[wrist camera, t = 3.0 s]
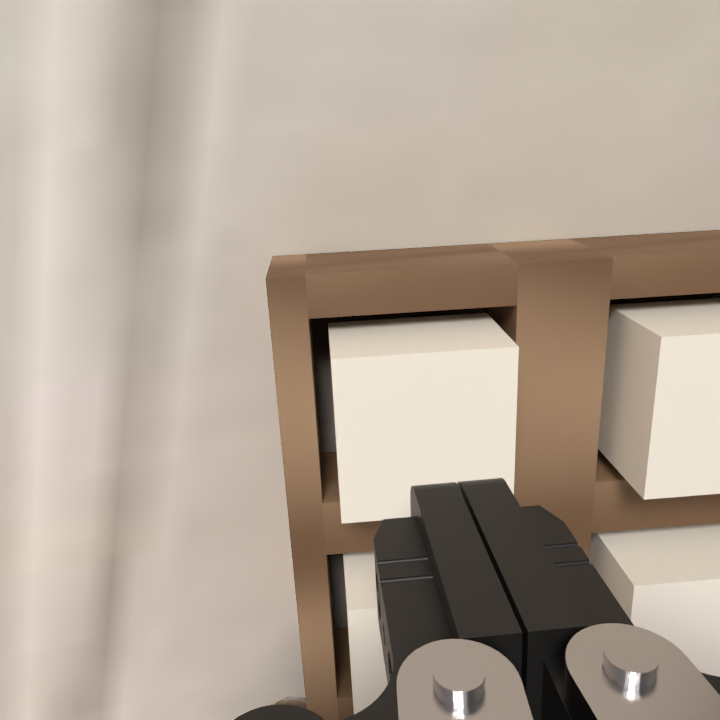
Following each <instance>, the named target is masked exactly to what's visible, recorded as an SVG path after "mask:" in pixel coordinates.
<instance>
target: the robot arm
mask: <svg viewBox="0 0 720 720" xmlns="http://www.w3.org/2000/svg"><path fill="white" fill-rule="evenodd" d="M410 506H411V517H403V518H392V519H383V521H382V523H381V525H380V527H379V529H378V531H377V533H376V535H375V537H374V539H373V540H374V558H375V575H376V593H377V610H378V622H379V629H380V636H381V643H382V649H383V656H384V663H385V669H386V677H387V683H388V685H387V686H386V688H385V690H384V691H383V692H382V694H381V695H380V696H379V697H378V698H377V699H376V700H375V701H374V702H373V703H372V704H371V705H369V706H368V707H366V708H365V709H363V710H362V711H360V712H358V713H356V714H354V715H352V716H350V717H348V718H345V719H343V720H720V677H718V676H713V675H708V674H705V673H702V672H700V671H699V670H698V669H697V668H696V667H695V665H694V664H693V663H692V662H691V661H690V660H689V658H688V657H687V656H686V655H685V654H684V653H683V652H682V651H681V650H680V649H679V648H678V647H676V646H675V645H674V644H673V643H671V642H670V641H668V640H667V639H665V638H663V637H662V636H660V635H658V634H656V633H654V632H651V631H649V630H646V629H643V628H640V627H636V626H634V625H633V623H632V622H631V620H630V619H629V617H628V616H627V614H626V613H625V611H624V610H623V608H622V607H621V605H620V604H619V603H618V601H617V600H616V598H615V597H614V595H613V594H612V592H611V591H610V589H609V588H608V586H607V585H606V583H605V582H604V580H603V579H602V577H601V576H600V574H599V573H598V571H597V570H596V569H595V567H594V566H593V564H590V562H589V558H588V557H587V555H586V554H585V552H584V551H583V549H582V548H581V546H578V542H577V540H576V539H575V537H574V536H573V535H572V533H571V532H570V530H569V529H568V527H567V526H566V524H565V523H564V521H562V520H561V519H559V518H558V517H556V516H555V515H553V514H552V513H550V512H549V511H547V510H546V509H544V508H543V507H541V506H540V505H536V506H524V507H520V505H519V503H518V502H517V500H516V498H515V497H514V495H513V493H512V491H511V490H510V488H509V486H508V485H507V483H506V481H505V480H504V479H503V478H494V479H483V480H471V481H460V482H458V483H456V482H450V483H438V484H427V485H415V486H411V490H410ZM234 720H324V719H323V718H322V717H321V716H319V715H318V714H316V713H315V712H313V711H310V710H308V709H306V708H303V707H299V706H295V705H284V704H281V705H270V706H265V707H260V708H257V709H254V710H251V711H249V712H247V713H245V714H243V715H241V716H239V717H237V718H236V719H234Z"/></svg>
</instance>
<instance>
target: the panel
mask: <svg viewBox="0 0 720 720" xmlns="http://www.w3.org/2000/svg"><path fill="white" fill-rule="evenodd" d="M266 287H267V297H268V308H269V318H270V329H271V339H272V349H273V360H274V370H275V381H276V391H277V402H278V412H279V423H280V433H281V444H282V454H283V464H284V475H285V485H286V496H287V506H288V517H289V527H290V538H291V548H292V558H293V569H294V579H295V590H296V600H297V611H298V621H299V632H300V642H301V652H302V663H303V673H304V684H305V694H306V705H307V709H308V710H310V711H313V712H315V713H316V714H318V715H319V716H321V717H322V718H323V719H324V720H343V719H345V718H348V717H350V716H352V715H354V709H353V695H352V682H351V668H350V653H349V638H348V629H336V630H334V622H333V609H332V595H331V582H330V568H329V555H331V554H343V553H355V552H367V551H374V540H373V539H374V537H375V535H376V533H377V531H378V529H379V527H380V525H381V523H382V521H383V520H381V521H368V522H356V523H343V524H342V523H341V510H340V496H339V483H338V470H337V455H336V452H331V453H321V447H320V433H319V420H318V406H317V393H316V379H315V366H314V352H313V339H312V325H311V319H313V318H329V317H345V316H360V315H376V314H392V313H408V312H423V311H439V310H455V309H470V308H486V307H487V314H488V315H489V316H490V317H491V318H492V319H493V320H494V321H495V322H496V323H497V324H498V325H499V326H500V327H501V329H502V330H503V331H504V332H505V333H506V334H507V335H508V336H509V337H510V338H511V339H512V340H513V341H514V342H515V343H516V344H517V345H518V346H519V358H518V387H517V416H516V445H515V474H514V497H515V498H516V500H517V502H518V503H519V505H520V507H524V506H536V505H540V506H541V507H543V508H544V509H546V510H547V511H549V512H550V513H552V514H553V515H555V516H556V517H558V518H559V519H561V520H562V521H564V523H565V524H566V526H567V527H568V529H569V530H570V532H571V533H572V535H573V536H574V537H575V539H576V540H577V542H578V546H581V548H582V549H583V551H584V552H585V554H586V555H587V557H588V558H589V553H590V541H591V533H601V532H613V531H625V530H637V529H650V528H662V527H674V526H686V525H699V524H711V523H720V494H709V495H696V496H684V497H671V498H659V499H646V500H644V499H643V498H642V497H641V496H640V495H639V494H638V493H637V492H636V490H635V489H634V488H633V487H632V486H631V485H630V484H629V483H628V482H627V480H626V479H625V478H624V477H623V476H622V475H621V474H620V473H619V472H618V470H617V469H616V468H615V467H614V466H613V465H612V464H611V463H610V462H609V460H608V459H607V458H606V457H605V456H604V455H603V454H602V453H601V451H600V450H599V449H598V442H599V429H600V417H601V404H602V392H603V379H604V367H605V355H606V342H607V330H608V317H609V305H610V300H611V299H627V298H643V297H658V296H674V295H690V294H705V293H720V230H711V231H694V232H677V233H660V234H643V235H626V236H609V237H592V238H575V239H558V240H541V241H524V242H507V243H490V244H473V245H456V246H439V247H423V248H406V249H389V250H372V251H355V252H338V253H321V254H304V255H287V256H273V257H272V260H271V263H270V266H269V270H268V273H267V276H266Z"/></svg>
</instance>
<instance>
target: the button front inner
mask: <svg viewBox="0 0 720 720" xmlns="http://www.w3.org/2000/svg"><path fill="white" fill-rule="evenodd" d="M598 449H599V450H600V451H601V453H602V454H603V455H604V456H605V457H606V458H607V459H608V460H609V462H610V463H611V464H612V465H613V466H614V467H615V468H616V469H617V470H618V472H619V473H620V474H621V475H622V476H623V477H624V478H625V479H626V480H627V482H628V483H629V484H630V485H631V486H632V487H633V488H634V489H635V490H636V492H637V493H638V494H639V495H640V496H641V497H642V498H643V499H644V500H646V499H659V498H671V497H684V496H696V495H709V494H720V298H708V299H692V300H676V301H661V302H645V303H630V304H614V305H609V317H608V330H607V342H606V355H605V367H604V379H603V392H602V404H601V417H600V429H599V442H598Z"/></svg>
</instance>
